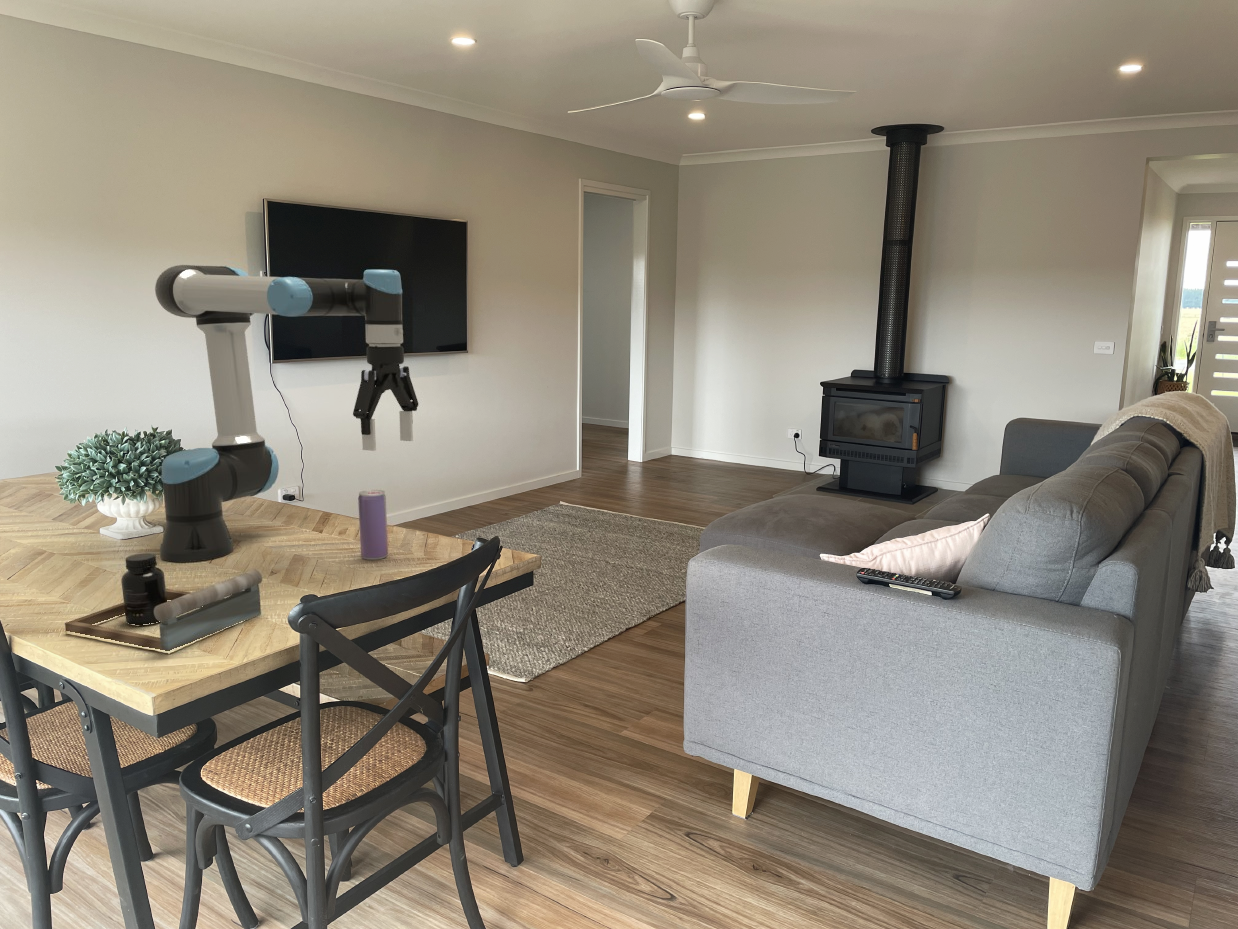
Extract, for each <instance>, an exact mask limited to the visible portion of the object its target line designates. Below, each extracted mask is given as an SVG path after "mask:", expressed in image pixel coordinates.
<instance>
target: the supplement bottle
mask: <svg viewBox="0 0 1238 929" xmlns="http://www.w3.org/2000/svg"><path fill="white" fill-rule="evenodd" d="M157 566H158V561H157V556H156V554H155V553H152V552H150V553H149V552H143V553H136V554H132V555H129V556H127V557H126V558H125V569H126V570H127V571H126V572H125V573H124V574H122V576H121V579H120V580H121V589H122V591H121V592H122V598H123V602H124V608H125V615H124V616H125V622H126V623H127V624H128V623H129V624H135V625H143V624H149V623H150V624H151V623H156V622H159V621H158V620H157V619H156V618H155V615H154V608H155V607H156V606H157V605H160V604H163V603H165V602H168V601H167V596H166V589H167V588H166V578H165V572H164V571H163V570H162V569H161V568H159V567H157ZM129 624H128V625H129Z"/></svg>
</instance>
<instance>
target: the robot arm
mask: <svg viewBox="0 0 1238 929" xmlns="http://www.w3.org/2000/svg"><path fill="white" fill-rule="evenodd" d="M154 290H155V297H156V299H157V301H158V303H159V305H161V307H162V308H163V309H164V310H165V311H166V312H168V313H169V314H172V315H174V316H177V317H181V318H187V319H188V318H189V319H191V318H192V319H195V322H196V324H195V325H196V327H197V328H198V329H199V330H200V331H201V332H203V333H204V336H205V337H204V338H205V345H206V350H207V351H206V352H207V353H206V354H207V360H208V368H209V376H210V383H211V391H212V392H211V393H212V399H213V407H214V416H215V422H216V431H217V432H216V433H217V436H216V438H215V439H214V440H213V441H212V443H211V447H212V448H211V447H197V448H192V449H190V448H189V449H184V450H181V451H176V452H174V453H171V454H170V455H168V456H167V457H165V458H164V460H163V461H162V463H161V475H160V476H161V478H160V479H161V481H162V489H163V500H164V501H163V502H164V511H165V512H164V513H165V521H166V523H165V527H164V531H163V538H162V543H160V546H159V553H160V554H159V555H160V558H161V559H162V560H164V561H167V562H168V561H169V562H174V563H175V562H176V563H187V562H188V563H189V562H190V563H191V562H201V561H208V560H212V559H213V560H214V559H217V558H221V557H224V556H227V555H229V554H231V553H232V552H233V551H234V549H235V548H234V539H233V538H232V536H231V534H230V531H229V529H228V526H227V524H226V522H225V519H224V515H223V503H225V502H230V501H233V500H238V499H242V498H246V497H247V498H248V497H255V496H257V495H259V494H262V493H265V492H267V491H269V490H270V489H271V488H272V486H273V485H274V484H276V481H277V479H278V475H279V470H280V467H279V465H280V464H279V459H278V457H277V454H276V453H274V450H273V448H271V447H270V446H268V445H266V441H265V440H266V439H265V438H264V437H263V436H261V435H260V434H259V433H258V430H257V429H258V428H257V421H256V413H255V405H254V397H253V389H252V381H251V373H250V372H251V371H250V364H249V363H250V362H249V356H248V354H249V353H248V348H247V340H246V339H247V338H246V331H247V329H248V328H250V326H251V324H252V323H251V317H252V316H253V315H254V314H264V315H265V314H266V315H279V316H282V317H291V318H292V317H294V318H295V317H296V318H297V317H313V316H318V317H320V316H321V317H322V316H323V317H325V316H329V317H330V316H335V317H336V316H340V317H343V316H364V318H365V320H364V323H365V343H366V344H368V346H367V347H366V362H367V364H368V365H371V369H362V370H361V375H360V384H359V388H358V391H357V396H356V399H355V403H354V408H353V412H352V416H353V417H355V418H356V419H358V420H360V431H361V437H362V439H361V440H362V441H361V442H362V450H363V451H371V452H372V451H373V452H375V451H376V450H377V445H376V444H377V443H376V442H377V441H376V439H377V438H376V421H375V420H376V419H375V418H373V416H374V414H375V411H376V408H377V407H378V404H379V402H380V401H381V400H380V399H381V397H382V395H383V393H385V392H386V391H389V390H390V391H391V392H392V394H393V396H394V398H395V400H396V402H397V403H398V405H399V407H400V408H401V410H399V412H398V413H399V436H400V437H399V439H400V441H404V442H413V441H414V438H413V436H414V435H413V422H414V421H413V412H417V410H418V407H419V400H418V398H417V395H416V391H415V389H414V386H413V382H412V380H411V376H410V375H411V374H410V368H409V366H405V365H404V366H403V364H404V362H405V355H404V351H405V350H404V347H403V346H401V344H403V343H404V335H403V334H404V330H403V323H404V322H403V289H402V280H401V274H400V272H398V270H396V269H395V270H394V269H366V270H364V272H363V278H362V279H349V278H348V279H344V278H320V277H319V278H311V277H295V276H284V277H283V276H261V275H260V276H257V275H255V276H253V275H248V273H247V272H245V270H243V269H240V268H238V267H232V266H231V267H230V266H227V265H225V266H223V265H219V266H217V265H194V264H193V265H190V264H179V265H174V266H170V267H169V268H167V269H164V271H163V272H161V274H159V276H158V277H157V279H156V282H155V286H154Z"/></svg>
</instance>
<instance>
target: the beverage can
mask: <svg viewBox="0 0 1238 929" xmlns="http://www.w3.org/2000/svg"><path fill="white" fill-rule="evenodd" d="M386 496H387V495H386V492H385V490H382V489H367V490H362V491H359V492H358V498H357V501H358V503H357V504H358V521H359V542H360V543H359V544H360V556H361V558H362V559H363V560H367V561H378V560H383V559H385V558H387V556H388V555H389V544H388V543H389V541H388V540H389V539H388V516H387V513H388V512H387V497H386Z"/></svg>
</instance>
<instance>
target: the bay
mask: <svg viewBox="0 0 1238 929" xmlns="http://www.w3.org/2000/svg"><path fill="white" fill-rule="evenodd" d="M262 582H263V575H262V573H261V571H260V570H258V569H252V570H249V571H247V572H245V573H244V572H243V573H242V574H239V575H236V576H233V577H230V578H228V579H225V580H222V581H220V582H217V583H215V584H212V585H209V586H206V587H203V588H201V589H198V590H196V591H195V590H194V591H192V592H190V591H183V590H178V589H173V588H172V589H171V588H166V596H167V600H171V601H167V602H165V603H163V604H160V605H157V606H156V607H155V608H154V615H155V618H156V619H157V620H158V621H160V623H158V626H159V636H160V637H159V636H153V635H148V634H142V633H137V632H133V631H127V630H121V629H118V628H117V629H116V628H112V627H106V626H102V625H101V626H100V625H97V626H96V625H92V624H95V623H98V622H101V621H104V620H108V619H110V618H113V617H115V616H119V615H122V614H124V613H125V608H124V601H123V602H120V603H118V604H115V605H112V606H109V607H107V608H104V609H101V610H98V611H95V612H92V613H90V614H87V615H84V616H81V617H78V618H75V619H72V620H70V621H67V622H65V623H64V627H65V632H66V631H70V632H75V633H80V634H85V635H90V636H95V637H100V638H104V639H111V640H115V641H119V642H124V643H129V644H134V645H138V646H142V647H149V648H155V649H160V650H165V651H170V650H172V649H174V648H177V647H180V646H183V645H185V644H188V643H191V642H193V641H195V640H197V639H200V638H203V637H205V636H207V635H210V634H213V633H215V632H217V631H220V630H222V629H224V628H226V627H229V626H232V625H234V624H236V623H239V622H241V621H244V620H247V619H249V620H251V619H253V618H252V617H254V618H256V617H258V616H260V615H262V609H261V595H260V594H261V593H260V587H259V588H258V586H257V585H258V584H259V585H260V584H261V583H262ZM243 590H244V591H243ZM240 591H242V592H240ZM237 592H239V593H237ZM235 593H237V594H235ZM232 594H234V595H232ZM202 606H203V607H202ZM255 616H256V617H255ZM250 618H251V619H250ZM247 621H248V620H247Z"/></svg>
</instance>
